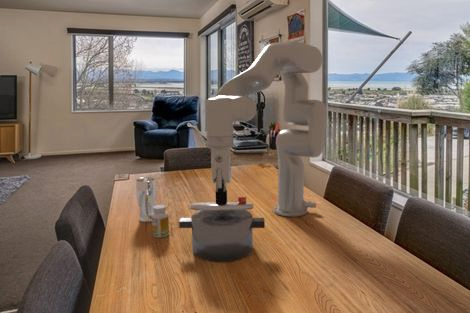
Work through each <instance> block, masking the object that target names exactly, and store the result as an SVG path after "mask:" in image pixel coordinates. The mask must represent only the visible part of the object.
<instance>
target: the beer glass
mask: <svg viewBox="0 0 470 313" xmlns="http://www.w3.org/2000/svg"><path fill="white" fill-rule="evenodd" d="M156 188H157V187H156V178H154V177H150V176H149V177H147V176H146V177H140V178H137V179H135V189H136V190H135V194H136V199H137V203H138V206H139V219H138V220H139V222H141V223H149V222H151V223H152V218H151V215H152V213H153V212H154V211H153V207H154V206H155V205H156V199H157V189H156Z"/></svg>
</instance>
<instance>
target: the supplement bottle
mask: <svg viewBox="0 0 470 313" xmlns="http://www.w3.org/2000/svg"><path fill="white" fill-rule="evenodd" d="M166 207H167V206H166V205H165V204H157V205H156V204H155V206H154V207H153V211H154V212H153V213H152V215H151V218H152V221H151V230H152V232H151V233H152V237H154V238H159V239H161V238H164V237H165V238H166V237H168V236H169V234H170V225H169V223H170V222H169V212H167V211H166V210H167V208H166Z"/></svg>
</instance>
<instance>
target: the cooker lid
mask: <svg viewBox="0 0 470 313" xmlns="http://www.w3.org/2000/svg"><path fill="white" fill-rule="evenodd" d="M189 209H190V210H193V211H200V210H204V211H234V210H247V211H249V210H252V209H254V203H251V202H247V197H246V196H238V197H237V202H236V201H235V202H234V201H233V202H232V201H227V204H219V205H217V204H216V201H214V202H195V203H191V204H190V205H189Z"/></svg>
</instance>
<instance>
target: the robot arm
mask: <svg viewBox="0 0 470 313" xmlns="http://www.w3.org/2000/svg"><path fill="white" fill-rule="evenodd" d="M322 64H323V55H322V52H321V51H320V48H317V47H316V46H314V45H310V44H308V43H304V42H300V41H297V40H296V41H295V40H291V41H279V42H272V43H269V44H267V45H266V46H265V47H264V48H263V49H262V50H261V52H260V53H259V54H258V56H257V57H256V59H255V60H254V61H253V63H252V64H251V65H250V66H249V67H248V68H247V69H246V70H244V71H243V72H240V73H239V74H237V75H236V76H234V77H233V78H230V79H229V80H228V81H226V82H225V83H224V84H223V85H222V86H221V87H220V88H219V89H218V90H217V92H216V93H215V95H214V96H213V97H209V98H208V99H206V100H205V124H206V125H205V127H206V148H208V149H210V155H211V156H210V159H211V161H210V164H211V165H210V166H211V180H212V183H213V184H215V202H216V204H217V205H219V204H227V202H228V189H227V184H229V183H230V182H231V178H232V164H231V163H232V160H231V149H232V148H234V122H237V123H239V122H240V123H245V122H249V121H251V120H252V119H253V118H254V117H255V116H256V113H257V109H258V108H257V104H256V101H255V100H254V99H253V98H252V97H249V95H252V94H257V93H260V92H262V91H265V90H266V89H268V88H269V87H271V85H272V83H273V82H274V80H275V79H276V78H277V76H278V75H280V77H281V78H282V81H283V84H284V97H283V107H282V108H283V109H282V119H283V122H284V123H285V124H287V125H291V126H295V127H296V126H299V127H300V126H301V127H308V129H296V128H285V129H282V130H281V131H278V133H277V135H276V137H275V138H276V139H275V147H276V152H277V158H278V159H277V161H278V162H277V164H278V174H277V176H278V184H277V185H278V188H277V189H278V191H277V196H278V197H277V205H274V207H273V212H274V213H276V214H277V215H280V216H282V217H290V218H291V217H292V218H293V217H294V218H295V217H301V216H304V215H306V214H307V213H308V208H311V209H312V208H313V209H316V207H317V203H316V202H312V201H309V200H305V199H304V192H305V191H304V190H305V189H304V188H305V185H304V184H305V164H304V162H303V160H302V158H301V157H305V158H317V157H319V156H321V155H322V153H323V151H324V145H325V137H326V129H327V119H328V118H327V117H328V116H327V115H328V112H327V108H326V107H327V106H326V105H325V103H324V102H323V101H322V100H319V99H318V100H317V99H309V83H308V80H307V79H306V77H305V76H304V75H303V74H313V73H317V72H318V71H319V70H320V69H321V67H322Z"/></svg>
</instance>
